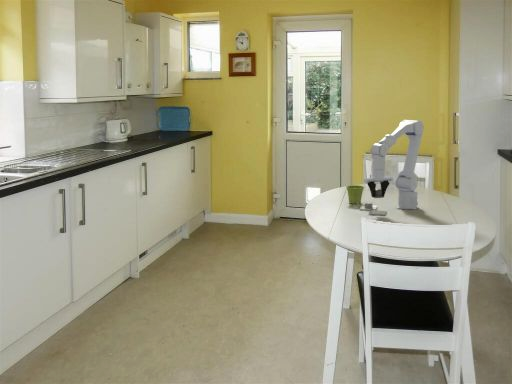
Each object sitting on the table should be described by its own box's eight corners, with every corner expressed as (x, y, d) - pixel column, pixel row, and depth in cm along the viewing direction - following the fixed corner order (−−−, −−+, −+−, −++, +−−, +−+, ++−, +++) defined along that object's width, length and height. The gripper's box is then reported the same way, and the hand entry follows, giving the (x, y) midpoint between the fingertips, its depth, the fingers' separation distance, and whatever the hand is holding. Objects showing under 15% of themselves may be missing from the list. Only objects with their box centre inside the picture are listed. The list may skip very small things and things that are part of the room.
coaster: (386, 212, 275) (386, 211, 274) (385, 215, 267) (385, 214, 267) (369, 211, 277) (369, 210, 277) (368, 214, 269) (368, 213, 269)
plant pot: (363, 204, 292) (364, 188, 290) (345, 204, 293) (345, 188, 292) (364, 201, 301) (364, 185, 299) (346, 200, 302) (346, 185, 301)
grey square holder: (377, 207, 285) (377, 201, 285) (376, 210, 278) (376, 204, 277) (361, 206, 287) (361, 200, 287) (359, 210, 280) (359, 204, 279)
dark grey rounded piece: (383, 197, 269) (383, 189, 268) (375, 198, 268) (375, 190, 267) (378, 196, 274) (378, 188, 274) (370, 196, 273) (370, 188, 273)
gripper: (388, 166, 273) (387, 194, 276) (361, 168, 270) (360, 196, 272) (395, 168, 267) (394, 196, 269) (367, 170, 263) (366, 198, 266)
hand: (377, 196), depth 270 cm, fingers closed on dark grey rounded piece, 4 cm apart
